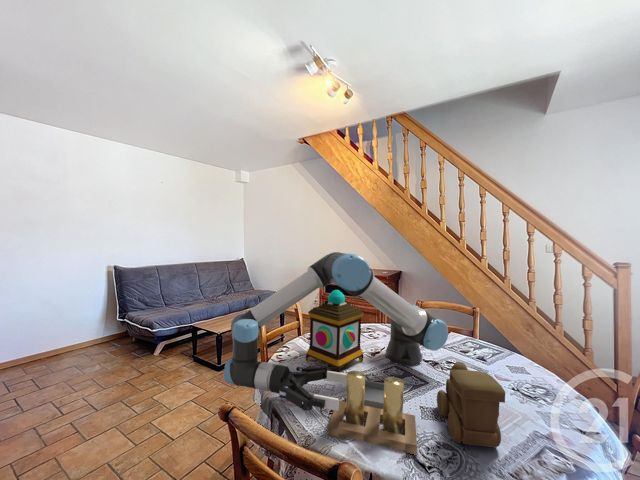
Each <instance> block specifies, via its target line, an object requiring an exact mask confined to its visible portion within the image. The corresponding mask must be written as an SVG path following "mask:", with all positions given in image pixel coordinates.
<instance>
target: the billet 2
mask: <svg viewBox="0 0 640 480" xmlns="http://www.w3.org/2000/svg"><path fill="white" fill-rule="evenodd" d="M383 383H384V402H383V422H382V428H381V430H382V431H387V432H391V433H396V434H400V435H403V426H402V418H403V413H404V412H403V411H404V391H405V389H404V388H405V387H404V385H405V384H404V383H405V382H404V380H402V379H401V378H398V377H395V376H388V377H385V378H384V380H383Z"/></svg>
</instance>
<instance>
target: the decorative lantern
mask: <svg viewBox="0 0 640 480" xmlns="http://www.w3.org/2000/svg"><path fill="white" fill-rule="evenodd" d="M307 313H308V314H307V315H308V316H309V319H310V320H309V321H310V324H309V347H308V350H307V351H306V353H305V361H306V362H310V360H311V358H312V359H315V360H316V361H317V360H318V361H320V362H321V363H324V364H326V365H329V366H331V367H334V368H335V372H339V373H341V368H342V367H345V366H346V365H349V364H350V363H351V362H353V361H355V360H357V359H358V361H359V362H360V363H362V362H363V360H364V353H363V350H362V348H361V334H362V332H361V331H362V330H361V329H362V328H361V327H362V318H363V316H364V314H365V313H364V312H363V310H360V308H359V307H355V306H353V305H351V303H349V302H348V301H346V297H345V294H344V293H343V292H342V291H340V290H339V289H334V290H332V291H331V292H330V293H329V294H328V298H327V300H325V301H324V302H323V303H321V304H320V305H318V306H314V307H312V308H311V309H310V310H309V311H307Z"/></svg>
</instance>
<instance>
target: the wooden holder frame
mask: <svg viewBox="0 0 640 480" xmlns="http://www.w3.org/2000/svg"><path fill="white" fill-rule="evenodd" d="M345 417H346V401H343V400H339V406H338V411H336V410H333V413H332V415H331V417H330V420H329V422H328V424H327V436H330V437H334V436H335V437H334V438H338V437H339V438H338V439H342V438H343V440H346V439H347V440H348V441H350V439H352V440H356V441H360V442H365V443H370V444H372V445H377V446H383V447H385V448H391V449H394V450H399V451H403V452H406V453H410V454H415V455H417V456H418V439H417V426H416V425H417V422H416V415H413V414H409V413H404V412H403V418H402V427H404V434H402V435H400V434H396V433H391V432H387V431H382V429H380V425H381V422H382V423H383V409H380V408H374V407H369V406H364V419H366V422H365V424H364V425H365V426H359V425H355V424H350V423H345V421H344V419H345ZM406 453H405V454H406ZM410 454H409V455H410Z"/></svg>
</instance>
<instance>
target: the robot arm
mask: <svg viewBox="0 0 640 480" xmlns="http://www.w3.org/2000/svg"><path fill="white" fill-rule="evenodd" d="M331 284H334V285H336V286H338V287H339V288H341V289H342V290H344V291H345V292H347V293H348V294H349V295H350V296H352V297H354V298H357V297H360V298H362V299H363V300H364V301H366V302H368V303H369V304H371V305H372V306H373V307H374V308H376V309H378V310H379V311H380V312H381V313H382V314H384V315H385V316H387V318H389V319H390V338H389V341H388V344H387V347H386V349H385V358H386V359H387V358H388V359H389V360H390V361H389V360H388V359H387V360H388V361H389V362H391V361H392V362H391V363H393V362H394V364H396V363H397V364H396V365H399V364H401V365H400V366H405V365H415V366H417V365H416V364H419V363H420V362H421V361H422V362H423V355H422V352H421V348H420V346H422V347H424V348H425V349H427V350H430V351H433V352H434V351H435V352H436V351H438V350H440V349H442V348H443V347H444V346H445V344H446V343H447V341H448V338H449V328H448V325H447V324H446V322H445V321H444V320H442V319H440V318H436V317H434V316H433V315H431V314H430V313H429V312H427V311H426V310H425V309H423V308H421V307H419V305H414V304H411V303H409V302H408V301H407V300H405V299H404V298H403V297H402V296H400V295H399V294H398V293H396V292H395V291H394V290H392V289H391V288H390V287H388V285H386V284H384V283H383V282H382V281H381V280H380V279H378V278H377V277H375V271H374V270H373V269H372V268H371V267H370V265H369V263H368V262H367V260H365V258H363V257H361V256H359V255H357V254H354V253H345V252H338V251H337V252H335V251H334V252H330V253H328V254H326V255H324V256H323V257H321V258H320V259H319V260H317V261H315V262H314V263H313V264H311V265H310V266H308V267H307V270H306V272H304V273H302V274H300V276H298V277H296V278H295V279H293V280H292V281H290V282H289V283H288V284H286V285H284V286H283V287H282V288H280V289H278V290H277V291H276V292H274V293H273V294H271V295H270V296H268V297H267V298H265V299H263V300H261V302H260V303H258V304H256V305H255V306H253V307H251V308H250V309H249V310H247V311H245V312H244V313H243V312H242V313H241V312H240V313H239V314H236V315H235V316H234V317H233V319H232V320H231V324H230V330H231V338H232V357H230V358H229V359H228V360H227V361H226V362H225V365H224V369H223V372H222V376H223V380H224V381H225V383H227V384H230V385H234V386H236V387H245V388H249V389H254V390H260V391H263V392H271V393H274V394H278V395H279V398H281V399H285V400H286V401H288V402H290V403H291V404H292V405H294V406H296V407H298V408H299V409H300V410H302V411H304V412H306V411H307V412H308V411H312V410H313V407H316V408H319V409H325V410H326V409H327V410H332V411H334V410H336V411H338V406H339V401H340V398H338V397H337V398H336V397H333V396H328V395H327V396H326V395H321V394H316V393H314V394H313V395H312V394H311V393H310V392H309V391H307V389H306V388H304V386H305V385H307V384H308V383H310V382H312V383H313V382H315V381H321V380H326V381H328V382H333V383H338V384H343V385H347V373H344V372H340V373H339V372H336V371H332V370H329V367H328V366H322V365H321V366H308V367H306V366H305V367H304V366H296V369H295V371H291V370H290V368H289V366H288V365H283V364H276V363H271V362H265V361H264V362H263V361H259V360H258V357H259V353H258V351H259V350H258V349H259V335H260V331H259V330H260V329H261V328H262V327H264V326H265V325H268V323H270V322H271V321H273V320H274V319H276V318H277V317H279V316H280V315H281V314H282V313H284V312H286V311H287V310H288V309H290V308H291V307H293V306H294V305H296V304H297V303H299V302H300V301H302V300H303V299H305V298H306V297H308V296H309V295H310V294H312V293H313V292H315V291H316V290H318V289H324V288H325V287H327V286H328V285H331ZM419 365H420V364H419Z"/></svg>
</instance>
